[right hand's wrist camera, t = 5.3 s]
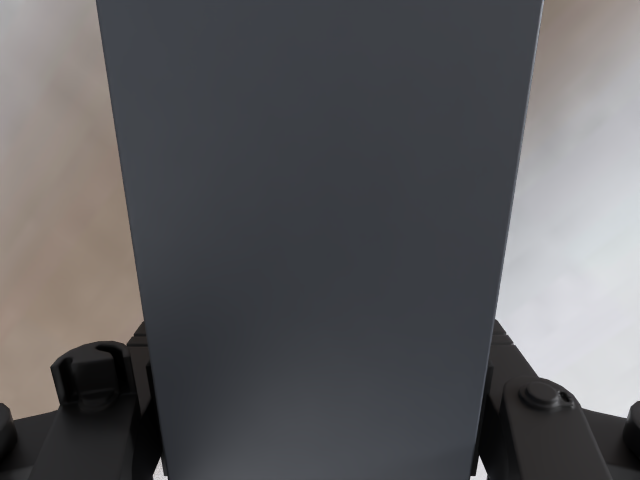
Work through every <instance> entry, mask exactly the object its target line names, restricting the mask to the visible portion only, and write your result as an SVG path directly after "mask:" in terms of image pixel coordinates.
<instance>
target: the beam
mask: <svg viewBox="0 0 640 480" xmlns="http://www.w3.org/2000/svg"><path fill="white" fill-rule="evenodd" d="M96 5H97V12H98V18H99V25H100V31H101V38H102V45H103V51H104V58H105V65H106V71H107V78H108V85H109V91H110V98H111V104H112V111H113V118H114V124H115V131H116V138H117V144H118V151H119V157H120V164H121V171H122V177H123V184H124V191H125V197H126V204H127V211H128V217H129V224H130V230H131V237H132V244H133V250H134V257H135V264H136V270H137V277H138V284H139V290H140V297H141V303H142V310H143V317H144V323H145V330H146V337H147V343H148V350H149V357H150V363H151V370H152V376H153V383H154V390H155V396H156V403H157V410H158V416H159V423H160V429H161V436H162V443H163V449H164V456H165V463H166V469H167V476H168V480H470V475H471V469H472V462H473V456H474V449H475V443H476V436H477V430H478V424H479V417H480V411H481V404H482V398H483V391H484V385H485V379H486V372H487V366H488V359H489V353H490V346H491V340H492V333H493V327H494V321H495V314H496V308H497V301H498V295H499V288H500V282H501V275H502V269H503V263H504V256H505V250H506V243H507V237H508V230H509V224H510V217H511V211H512V205H513V198H514V192H515V185H516V179H517V172H518V166H519V159H520V153H521V147H522V140H523V134H524V127H525V121H526V114H527V108H528V101H529V95H530V89H531V82H532V76H533V69H534V63H535V56H536V50H537V44H538V37H539V31H540V24H541V18H542V11H543V5H544V0H96Z"/></svg>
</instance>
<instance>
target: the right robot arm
mask: <svg viewBox="0 0 640 480" xmlns="http://www.w3.org/2000/svg"><path fill="white" fill-rule="evenodd" d="M50 368H51V372H52V376H53V380H54V384H55V387H56V391H57V395H58V399H59V403H60V406H59V408H58V410H56V411H53V412H49V413H45V414H41V415H36V416H31V417H27V418H22V419H18V420H13V418H12V415H11V412H10V409H9V408H8V407H7V406H6V405H4V404H3V403H0V480H153V474H154V471H155V469H156V466H157V464H158V462H159V459H160V457H161V460H162V466H163V472H164V476H167V469H166V463H165V456H164V449H163V443H162V436H161V429H160V423H159V416H158V410H157V403H156V396H155V390H154V383H153V376H152V370H151V363H150V357H149V350H148V343H147V337H146V330H145V323H144V321H143V322H142V324H141V325H140V326H139V328H138V329H137V330H136V332H135V333H134V337H131V339H130V340H129V342H128V343H127V346H126V345H124V344H123V343H119V342H115V341H98V342H94V343H89V344H85V345H82V346H80V347H77V348H75V349H72V350H70V351H68V352H67V353H65V354H64V355H62V356H61V357H59V358H58V359H57V360H56V361H55V362H54V363H53V365H52V366H51V367H50ZM479 455H480V458H481V460H482V463H483V465H484V467H485V470H486V472H487V474H488V475H487V480H640V401H637V402H636V403H635V404H633V405H632V406H631V407H630V411H629V414H628V417H627V418H622V417H617V416H613V415H608V414H603V413H599V412H594V411H590V410H587V409H583V408H581V405H580V404H579V402H578V401H577V399H576V398H575V397H574V395H573V394H571V393H570V392H569V391H568V390H566V389H565V388H564V387H562V386H560V385H558V384H556V383H554V382H552V381H550V380H547V379H543V378H540V377H538V376H537V374H536V373H535V372H534V370H533V369H532V367H531V366H530V365H529V363H528V362H527V361H526V359H525V358H524V356H523V355H522V354H521V352H520V351H519V350H518V348H517V347H516V345H514V344H513V341H512V340H511V339H510V337H509V336H508V335H506V332H505V330H504V329H503V328H502V326H501V325H500V324H499V322H498V321H497V320H496V319H495V321H494V327H493V333H492V340H491V346H490V353H489V359H488V366H487V372H486V379H485V385H484V391H483V398H482V404H481V411H480V417H479V424H478V430H477V436H476V443H475V449H474V456H473V462H472V469H471V475H470V476H476V470H477V465H478V459H479Z"/></svg>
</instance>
